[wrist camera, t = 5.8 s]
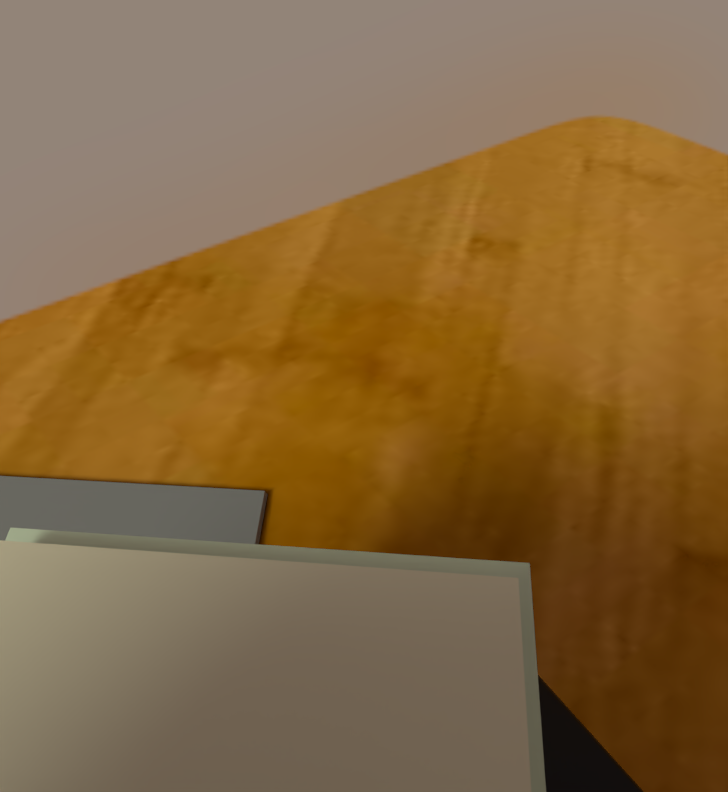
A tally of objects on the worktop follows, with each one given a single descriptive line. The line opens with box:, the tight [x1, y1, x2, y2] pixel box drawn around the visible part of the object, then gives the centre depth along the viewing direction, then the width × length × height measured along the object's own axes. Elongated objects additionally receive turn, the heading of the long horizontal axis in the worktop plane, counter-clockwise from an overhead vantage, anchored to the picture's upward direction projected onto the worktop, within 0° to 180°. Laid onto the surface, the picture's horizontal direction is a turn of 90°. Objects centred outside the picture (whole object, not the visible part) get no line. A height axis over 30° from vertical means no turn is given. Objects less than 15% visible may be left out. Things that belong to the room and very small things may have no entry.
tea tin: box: [0, 528, 546, 792], centre depth 8 cm, size 4×4×13 cm
